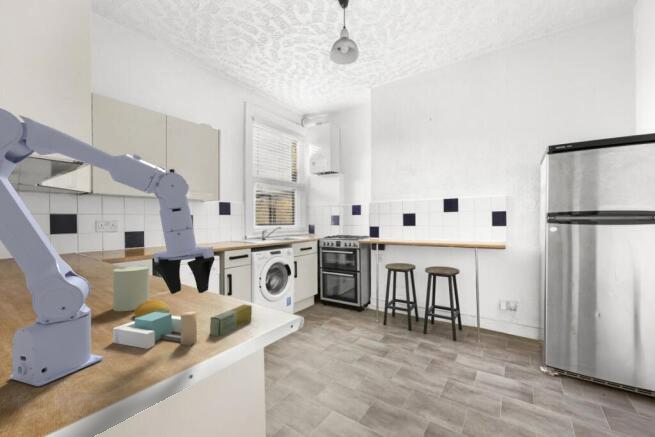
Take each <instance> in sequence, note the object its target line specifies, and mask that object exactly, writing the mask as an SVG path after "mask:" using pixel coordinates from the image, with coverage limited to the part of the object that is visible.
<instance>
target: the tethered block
mask: <svg viewBox="0 0 655 437" xmlns="http://www.w3.org/2000/svg"><path fill="white" fill-rule="evenodd" d="M172 316H173V315H172V313H170V312H169V313H161V312H153V313H150V314H147V315H144V316H141V317H138V318H136V317H134V321H135V328H139V329H145V330H151V331H155V342H156V341H158V340H160V339H161V340H167V341H173V342H178V343H179V342H180V344H181V345H182V346H190V345H193V344H195V343H197V342H198V339H197V338H198V337H197V335H198V334H197V333H198V331H197V328H198V326H197V324H198V323H197V311H193V310H192V311H185V312H181V313H180V317H181V333H180V335H176V334H172Z"/></svg>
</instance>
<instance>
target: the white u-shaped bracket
mask: <svg viewBox="0 0 655 437" xmlns="http://www.w3.org/2000/svg"><path fill="white" fill-rule="evenodd" d="M172 332H174V333H180V334H181V316H179V315H172ZM112 343H114V344H119V345H125V346H130V347H136V348H141V349H146V350H148V349H150V348H152V347H155V344H156V341H155V331H151V330H145V329H139V328H135V320H134V321H129V322H128V323H124V324H121V325H119V326H116V327H113V328H112Z"/></svg>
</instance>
